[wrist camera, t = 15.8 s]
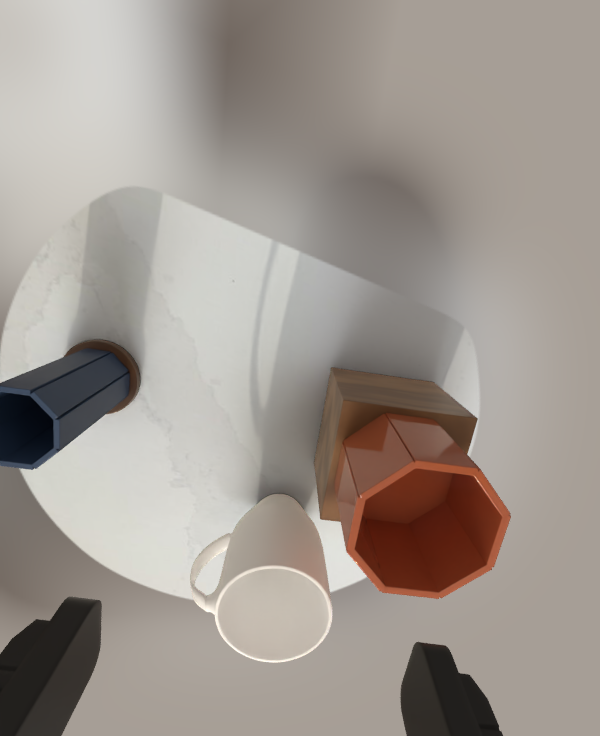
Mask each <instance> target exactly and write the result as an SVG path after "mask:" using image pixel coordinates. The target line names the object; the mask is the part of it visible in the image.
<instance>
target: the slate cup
mask: <svg viewBox="0 0 600 736" xmlns="http://www.w3.org/2000/svg"><path fill="white" fill-rule="evenodd" d="M128 371H129V370H128V369H127V368H126V367H125V366H124V365H123V363H122V362H121V361H120V360H119V359H118V358H117V357H116V356H115V354H114V353H111V352H110V351H104V350H97V349H90V348H86V349H83V350H80V351H78V352H76V353H73V354H71V355H68V356H66V357H63V358H61V359H58V360H56V361H53V362H51V363H49V364H46V365H44V366H41V367H39V368H36V369H34V370H31V371H29V372H26V373H24V374H22V375H19V376H17V377H14V378H12V379H9V380H7V381H4V382H2V383H0V466H7V467H15V468H23V469H31V470H33V469H34V468H35V469H37V468H38V467H39V466H41V465H42V464H43V463H45V462H46V461H47V460H49V459H50V458H51V457H52V456H54V455H55V454H56V453H58V452H59V451H60V450H62V449H63V448H64V447H65V446H67V445H68V444H69V443H70V442H71V441H73V440H74V439H75V438H76V437H78V436H79V435H80V434H81V433H83V432H84V431H85V430H86V429H88V428H89V427H90V426H91V425H93V424H94V423H95V422H96V421H98V420H99V419H100V418H101V417H103V416H104V415H105V414H106V413H108V412H109V411H110V410H111V409H113V408H114V407H115V406H116V405H118V404H119V403H120V402H121V401H123V400H124V399H125V398H126V397H128V396H127V395H128V394H129V379H130V373H128Z"/></svg>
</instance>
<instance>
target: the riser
mask: <svg viewBox="0 0 600 736" xmlns="http://www.w3.org/2000/svg"><path fill="white" fill-rule="evenodd" d="M386 413H392V414H399V415H406V416H413V417H421V418H428V419H434V420H435V421H437V423H438V424H439V425H440V426H441V427H442V428H443V429H444V430H445V431H446V432H447V433H448V435H449V436H450V437H451V438H452V439H453V440H454V441H455V442H456V443H457V444H458V445H459V447H460V448H461V449H462V450H463V451H464V452H465V453H466V454H467V453H468V450H469V446H470V443H471V440H472V436H473V433H474V429H475V426H476V423H477V418H476V417H475V416H474V415H472V414H471V413H470V412H469V411H468V410H466V409H465V408H464V407H463V406H462V405H461V404H459V403H458V402H457V401H456V400H455V399H453V398H452V397H451V396H450V395H449V394H447V393H446V392H445V391H444V390H443V389H441V388H440V387H439V386H438V385H437V384H435V383H434V382H429V381H422V380H415V379H408V378H401V377H394V376H387V375H380V374H373V373H366V372H359V371H352V370H345V369H338V368H331V371H330V377H329V382H328V388H327V393H326V399H325V404H324V410H323V415H322V421H321V427H320V432H319V438H318V443H317V449H316V454H315V460H314V466H315V475H316V484H317V493H318V502H319V511H320V519H322V520H331V521H339V522H341V519H340V514H339V509H338V504H337V498H336V493H335V488H334V481H335V476H336V471H337V466H338V461H339V456H340V451H341V446H342V442H344V440H345V439H346V438H348V437H349V436H351V435H352V434H354V433H355V432H357V431H358V430H360V429H361V428H363V427H364V426H366V425H367V424H369V423H370V422H372V421H373V420H375V419H376V418H378V417H379V416H381V415H382V414H386Z"/></svg>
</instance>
